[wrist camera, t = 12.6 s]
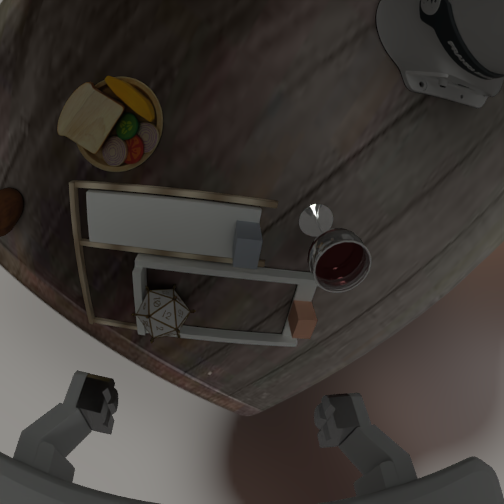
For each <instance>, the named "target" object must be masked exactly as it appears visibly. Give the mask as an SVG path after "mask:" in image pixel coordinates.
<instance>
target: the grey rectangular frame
mask: <svg viewBox="0 0 504 504" xmlns="http://www.w3.org/2000/svg"><path fill="white" fill-rule="evenodd" d="M146 268H153V269H161V270H169V271H177V272H185V273H194V274H203V275H211V276H220V277H230V278H239V279H249V280H258V281H268V282H279V283H289V284H298V285H297V288H296V291H295V294H294V297H293V301H292V304H291V307H290V310H289V313H288V316H287V319H286V323H285V326H284V329H283V332H282V334H272V333H257V332H244V331H232V330H221V329H211V328H202V327H193V326H184V325H183V326H182V328H181V330H180V333H178V334H180V338H188V339H197V340H207V341H217V342H228V343H240V344H254V345H271V346H293V347H296V346H297V343H298V342H297V338H304V339H310V338H311V335H312V333H313V331H314V328H315V326H316V323H317V321H318V320H317V317H316V314H315V311H314V308H313V305H312V302H311V301H312V299H313V296H314V293H315V290H316V287H317V286H318V284H317V283H316V282H315V279H314V275H313V274H312V273H310V272H301V271H291V270H282V269H272V268H263V267H257V269H248V268H239V267H233V264H227V263H218V262H209V261H200V260H192V259H183V258H175V257H166V256H158V255H150V254H141V253H138V255H137V257H136V259H135V267H134V270H133V272H132V275H133V289H134V301H135V312H136V313H137V312H138V310H139V308H140V306H141V304H142V302H143V300H144V298H145V296H146V294H147V291H146V289H145V288H146V287H145V286H147V272H146ZM136 321H137V330H138V334H140V335H145V333H149V332H148V331H147V329H146V328H145V327H144V325H143V324H142V322H141V321H140V319H139V318H138V316H136ZM171 336H172V337H177V335H171Z"/></svg>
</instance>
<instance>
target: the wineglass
mask: <svg viewBox="0 0 504 504" xmlns="http://www.w3.org/2000/svg"><path fill="white" fill-rule="evenodd" d="M332 223H333V215H332V212H331V210H330V209H329V208H328V207H326V206H324V205H321V204H314V205H311V206H309V207H307V208H306V209H305V210H304V211H303V212H302V213H301V215H300V218H299V226H300V229H301V230H302V232H303V233H305V234H306V235H309V236H317V237H316V239H315V240H314V241H313V243H312V245H311V247H310V249H309V253H308V265H309V268H310V271H311V272H312V274H313V275H314V279H315V282H316V283H317V284H318V286H319V287H320V288H322V289H323V290H325V291H328V292H332V293H340V292H345V291H348V290H351V289H353V288H354V287H356V286H358V285H359V284H360V283H361V282H362V281H363V280H364V279H365V278H366V276H367V274H368V273H369V271H370V267H371V254H370V252H369V250H368V248H366V247H365V245H364V244H363V242H362V240H361V238H359V237H358V236H357V235H356V234H355V233H354V232H352V231H349V230H347V229H343V228H333V229H330V228H331V225H332Z"/></svg>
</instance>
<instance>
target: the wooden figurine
mask: <svg viewBox="0 0 504 504" xmlns="http://www.w3.org/2000/svg"><path fill="white" fill-rule="evenodd" d="M23 207H24V206H23V198H22V196H21V194H20V193H19V192H18V191H17V190H16V189H12V188H4V189H1V190H0V237H1V236H4V235H6V234H7V233H9V232H10V231H11V230H12V228H13V227H14V226H15V224H16V223H17V221H18V219H19V218H20V216H21V214H22V212H23Z"/></svg>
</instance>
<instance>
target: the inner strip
mask: <svg viewBox="0 0 504 504" xmlns="http://www.w3.org/2000/svg"><path fill="white" fill-rule="evenodd" d="M86 200H87V216H88V229H89V240H90V241H91V242H99V243H108V244H116V245H124V246H132V247H141V248H149V249H157V250H166V251H174V252H183V253H191V254H200V255H209V256H217V257H226V258H233V267H239V268H248V269H257V266H258V261H259V256H260V252H261V247H262V242H263V240H262V235H261V229H260V224H259V222H260V217H261V212H262V209H261V208H260V207H253V206H245V205H237V204H229V203H221V202H213V201H205V200H196V199H187V198H178V197H168V196H158V195H148V194H137V193H125V192H113V191H100V190H88V191H87V192H86Z"/></svg>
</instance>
